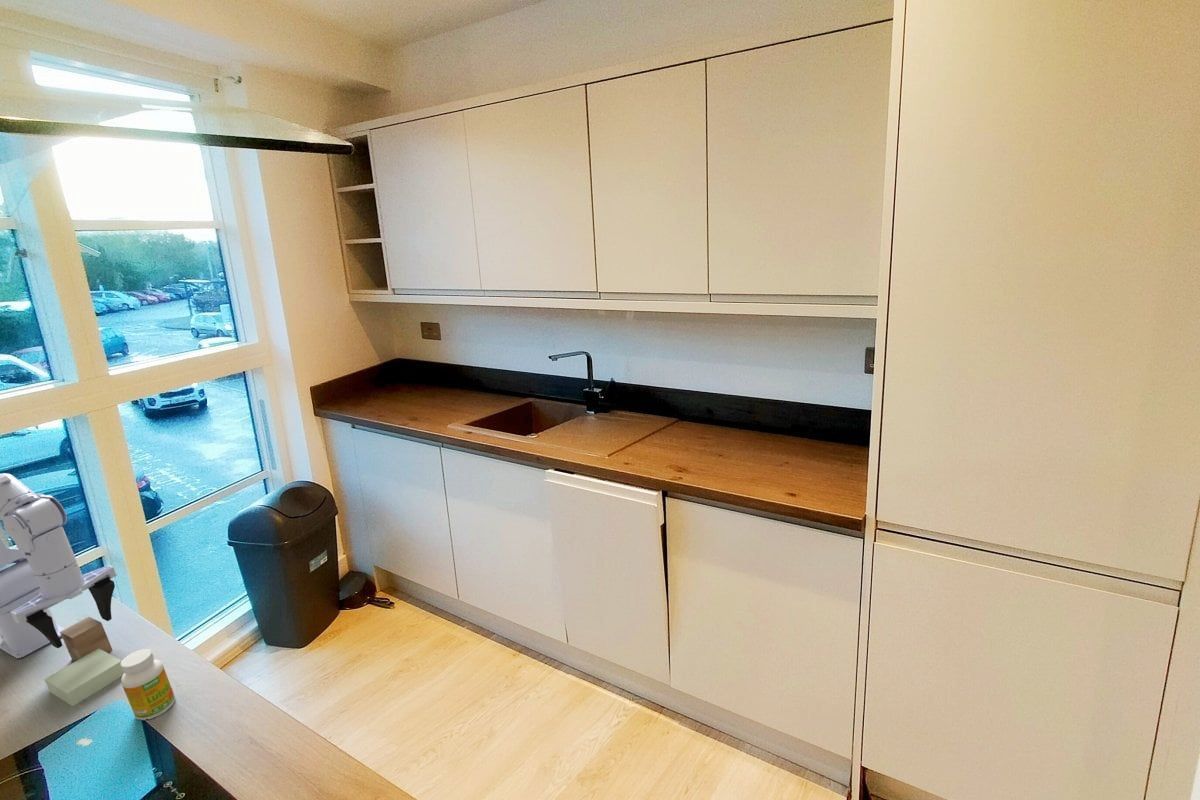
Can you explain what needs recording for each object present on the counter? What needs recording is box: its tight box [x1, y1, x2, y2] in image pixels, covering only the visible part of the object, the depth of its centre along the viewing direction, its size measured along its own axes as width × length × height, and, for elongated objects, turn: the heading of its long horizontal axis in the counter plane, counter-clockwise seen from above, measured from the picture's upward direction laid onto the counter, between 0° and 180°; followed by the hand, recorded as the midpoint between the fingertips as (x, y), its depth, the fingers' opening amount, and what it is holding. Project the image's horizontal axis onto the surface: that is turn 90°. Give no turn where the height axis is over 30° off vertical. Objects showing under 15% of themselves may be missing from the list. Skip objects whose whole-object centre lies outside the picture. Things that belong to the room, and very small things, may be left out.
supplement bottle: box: [120, 648, 176, 721], centre depth 97 cm, size 5×5×10 cm
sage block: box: [43, 648, 124, 707], centre depth 106 cm, size 8×8×3 cm
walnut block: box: [60, 616, 113, 662], centre depth 112 cm, size 4×4×6 cm
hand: (83, 632), depth 111 cm, fingers open, 7 cm apart
